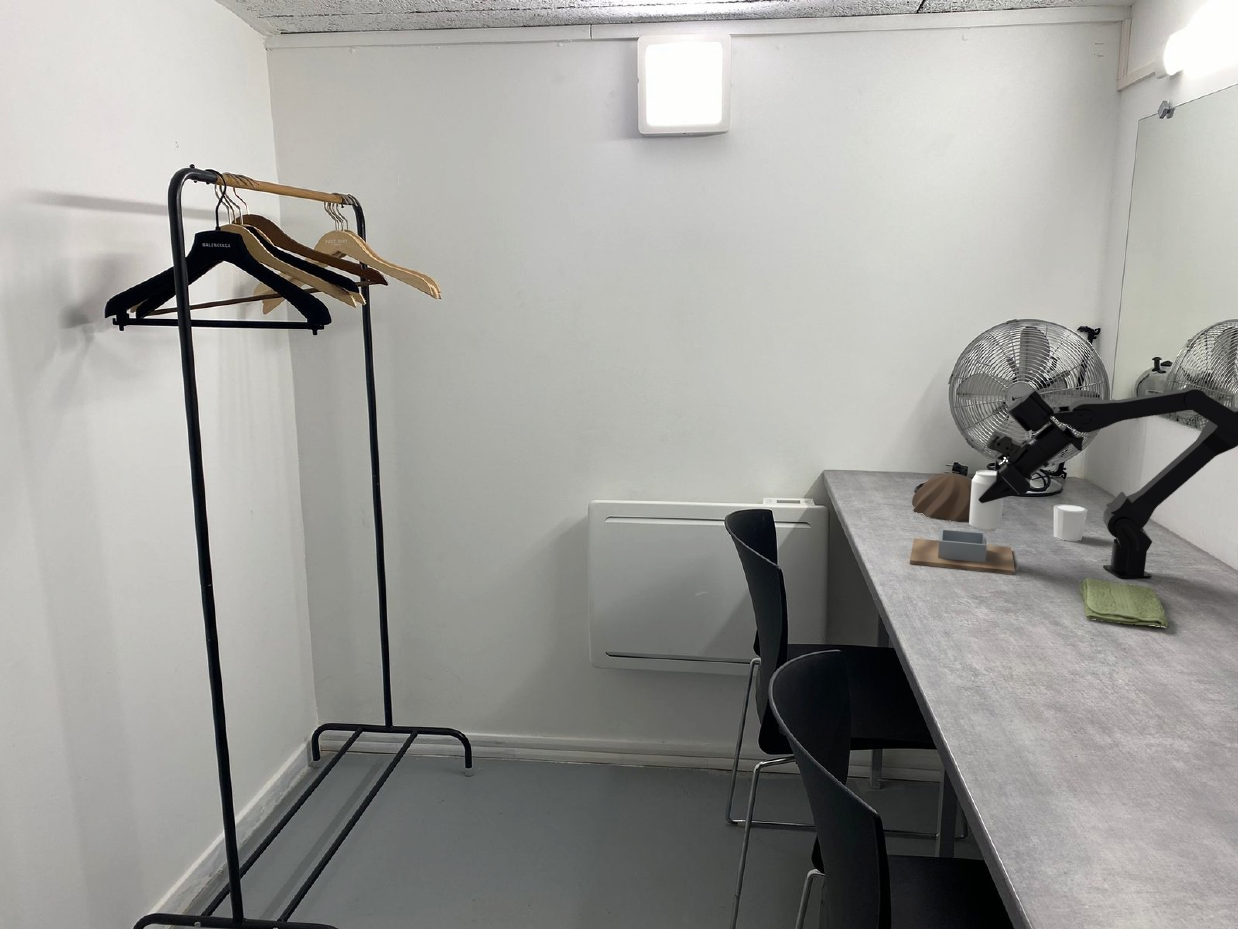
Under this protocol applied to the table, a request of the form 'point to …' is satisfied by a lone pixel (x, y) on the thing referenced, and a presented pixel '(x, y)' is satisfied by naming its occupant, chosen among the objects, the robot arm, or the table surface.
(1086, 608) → the washcloth
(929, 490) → the decorative dome
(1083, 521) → the white tapered cup
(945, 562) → the brown slab
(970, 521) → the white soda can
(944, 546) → the gray square open box
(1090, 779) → the table surface
